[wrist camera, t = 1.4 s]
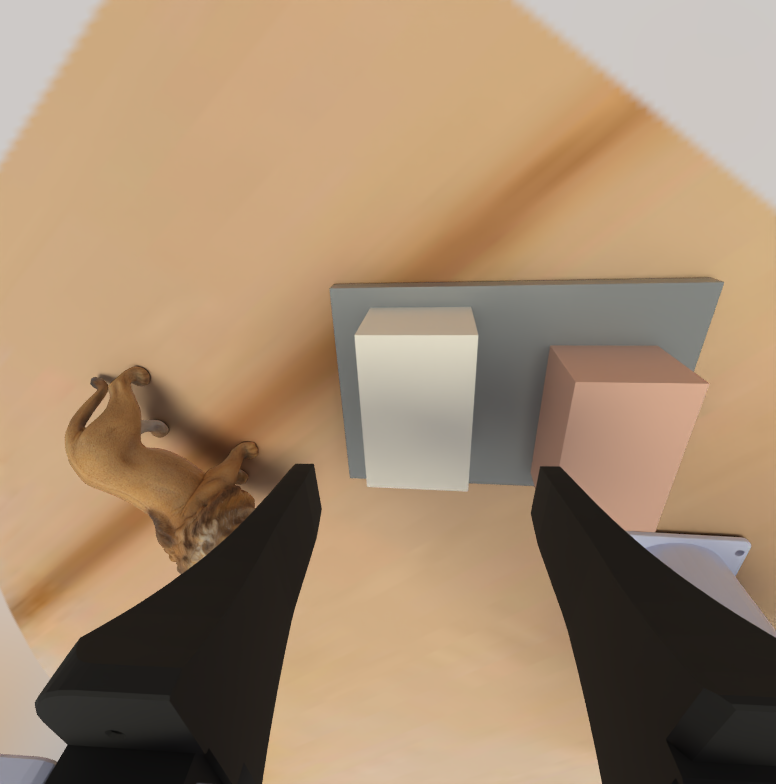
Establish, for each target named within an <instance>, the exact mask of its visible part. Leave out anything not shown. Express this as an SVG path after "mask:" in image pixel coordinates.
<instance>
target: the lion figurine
mask: <svg viewBox="0 0 776 784" xmlns="http://www.w3.org/2000/svg"><path fill="white" fill-rule="evenodd" d="M149 379H150V375H149V373H148V372H147V371H146V370H145V369H143V368H141V367H132V368H129V369H127V370H126V371H124V372H123V373H122V374H120V375H119V376H118V377H117V378H116V379H115V380H114V381H112V382H111V383H110V385H109V386H108V384H107V383H106V382H105V381H104V379H103V378H97V377H93V378H92V379H91V383H90V384H91V385H92V386H93V387H94V388H96V389H97V391H96V392H95V393H94V394H93V395H92V396H91V397H90V398H89V399H88V400H87V401H86V402H85V403H84V404H83V405H82V406H81V407H80V409H79V410H78V411H77V412H76V414H75V415H74V416H73V418H72V419H71V421H70V423H69V425H68V428H67V430H66V434H65V449H66V453H67V456H68V460H69V463H70V465H71V466H72V468H73V469H74V471H75V472H76V473H77V475H78V476H79V477H80V478H81V480H82V481H83V482H84V483H85V484H87V485H89V486H91V487H93V488H96V489H98V490H101V491H104V492H107V493H109V494H112V495H114V496H116V497H119V498H121V499H123V500H125V501H127V502H128V503H130V504H132V505H134V506H135V507H137V508H139V509H140V510H142V511H143V512H144V513H146V514H147V515H149V516H150V517H151V519H152V520H153V522H154V525H155V529H156V536H157V540H158V542H159V544H160V545H161V546H162V547H163V548H164V551H165V552H166V553H168V554H169V558H170V560H171V561H172V562H176V564H177V571H178V572H179V573H181V574H182V573H184V572H185V571H186V570H188V569H189V568H190V567H192V566H193V565H194V564H196V563H197V562H198V561H200V560H201V559H202V558H203V557H205V556H206V555H207V554H208V553H209V552H211V551H212V550H213V549H214V548H215V547H216V546H218V545H219V544H220V543H221V542H222V541H223V540H224V539H225V538H226V537H227V536H229V535H230V534H231V533H232V532H233V531H234V530H235V529H236V528H237V527H238V526H239V525H240V524H241V523H242V522H243V521H244V520H245V519H246V518H247V517H248V516H249V515H250V514H251V513H252V512H253V511H254V510H255V503H254V502H255V500H254V498H253V497H252V496H251V495H250V494H249V493H248V492H246V491H244V490H241V487H239V486H236V485H235V484H244V483H246V481H247V479H248V475H247V473H245V472H244V471H242V470H240V467H241V464H242V460H243V459H244V458H246V459H253V458H254V457H256V456H257V455H258V448H257V447H256V444H255V443H253V442H243V443H241V444H239V445H238V446H236V447H235V448H233V449H232V450H231V452H230V454H229V456H228V457H227V458H226V459H225V460H224V461H223V462H222V463H220V464H219V465H218V466H216V467H213V468H211V469H209V470H208V471H207V472H206V473H204V472H203V471H202V470H200V469H199V468H198V467H197V466H195V465H194V464H192V463H191V462H190V461H188V460H187V459H185V458H183V457H181V456H179V455H177V454H175V453H172V452H170V451H167V450H164V449H159V448H147V447H145V446H144V445H143V444H142V443H141V434H142V433H144V432H151V433H152V434H153V435H154V436H156V437H164V436H165V435H166V434H167V433H168V431H169V429H168V427H167V426H166V425H165V424H164V423H163V422H162V421H160V420H141V411H140V407H139V405H138V403H137V401H136V398H135V395H134V393H133V391H132V388H131V383H133V384H135V385H137V386H144V385H147V384H149V382H150V381H149ZM108 391H109V394H110V399H109V402H108V405H107V407H106V409H105V410H104V412H103V413H102V414H101V415H100V416H99V417H98V418H97V419H95V420H94V421H93V422H92V423H91V424H90V425H89V426H88V427H87V428H85V425H86V423H87V421H88V420H89V418H90V417H91V415H92V414H93V412H94V411H95V409H96V408H97V406H98V405H99V404H100V403H101V401H102V400H103V398H104V397H105V396H106V393H107V392H108Z"/></svg>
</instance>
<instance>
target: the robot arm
mask: <svg viewBox="0 0 776 784" xmlns="http://www.w3.org/2000/svg"><path fill="white" fill-rule="evenodd" d="M321 510H322V508H321V503H320V497H319V491H318V485H317V480H316V474H315V468H314V464H295V465H294V466H293V467H292V468H291V469H290V470H289V471H288V473H287V474H286V475H285V476H284V477H283V478H282V480H281V481H280V482H279V483H278V484H277V485H276V487H275V488H274V489H273V490H272V491H271V492H270V493H269V495H268V496H267V497H266V498H265V499H264V500H263V501H262V502H261V503H260V504H259V505H258V506H257V508H256V509H255V510H254V511H253V512H252V513H251V514H250V515H249V516H248V517H247V518H246V519H245V520H244V521H243V522H242V523H241V524H240V525H239V526H238V527H237V528H236V529H235V530H234V531H233V532H232V533H231V534H230V535H229V536H227V537H226V538H225V539H224V540H223V541H222V542H221V543H220V544H219V545H218V546H216V547H215V548H214V549H213V550H212V551H211V552H209V553H208V554H207V555H206V556H205V557H203V558H202V559H201V560H200V561H198V562H197V563H196V564H194V565H193V566H192V567H190V568H189V569H188V570H186V571H185V572H184V573H182V574H181V575H180V576H178V577H177V578H176V579H174V580H173V581H172V582H170V583H169V584H168V585H166V586H165V587H163V588H162V589H160V590H159V591H157V592H156V593H154V594H153V595H151V596H150V597H148V598H147V599H145V600H144V601H142V602H140V603H139V604H137V605H136V606H134V607H133V608H131V609H129V610H128V611H126V612H124V613H123V614H121V615H119V616H118V617H116V618H114V619H112V620H111V621H109V622H107V623H106V624H104V625H102V626H100V627H99V628H97V629H95V630H93V631H92V632H90V633H88V634H86V635H84V636H83V637H81V638H80V639H79V640H78V642H77V643H76V644H75V645H74V647H73V648H72V650H71V651H70V652H69V654H68V655H67V656H66V658H65V659H64V661H63V662H62V663H61V665H60V666H59V668H58V669H57V671H56V672H55V673H54V675H53V676H52V678H51V679H50V681H49V682H48V683H47V685H46V686H45V688H44V689H43V691H42V692H41V693H40V695H39V696H38V698H37V700H36V702H35V708H36V712H37V715H38V716H39V717H40V719H41V720H42V721H43V722H44V723H45V724H46V725H47V726H48V727H49V728H50V729H51V730H53V732H55V733H56V734H57V735H58V736H59V737H60V738H61V739H62V740H63V741H64V742H65V743H66V744H67V747H66V749H65V750H64V752H63V754H62V755H61V757H60V759H59V760H58V762H56V761H54V760H51V759H48V758H43V757H36V756H22V755H7V754H0V784H262V780H263V774H264V767H265V761H266V755H267V748H268V742H269V736H270V730H271V724H272V718H273V713H274V707H275V702H276V696H277V690H278V685H279V680H280V675H281V670H282V665H283V659H284V654H285V649H286V645H287V640H288V635H289V631H290V626H291V621H292V617H293V613H294V610H295V606H296V603H297V599H298V596H299V593H300V590H301V587H302V583H303V580H304V577H305V574H306V571H307V567H308V564H309V561H310V558H311V555H312V551H313V548H314V545H315V541H316V538H317V532H318V527H319V522H320V516H321ZM531 516H532V521H533V525H534V530H535V534H536V539H537V543H538V546H539V549H540V552H541V555H542V558H543V561H544V564H545V566H546V569H547V572H548V575H549V578H550V580H551V583H552V586H553V589H554V592H555V594H556V597H557V600H558V603H559V606H560V608H561V611H562V614H563V617H564V620H565V623H566V627H567V630H568V633H569V637H570V641H571V645H572V649H573V653H574V657H575V661H576V665H577V669H578V673H579V678H580V682H581V686H582V690H583V694H584V699H585V703H586V707H587V712H588V717H589V721H590V726H591V731H592V735H593V740H594V745H595V749H596V754H597V759H598V765H599V770H600V775H601V780H602V784H776V630H775V629H774V627H773V626H772V625H771V623H770V622H769V621H768V619H767V618H766V617H765V615H764V614H763V613H762V611H761V610H760V609H759V607H758V606H757V605H756V603H755V602H754V601H753V599H752V598H751V597H750V596H749V594H748V593H747V592H746V590H745V589H744V588H743V586H742V585H741V584H740V582H739V581H738V580H737V578H736V577H735V576H736V574H737V572H738V571H739V569H740V567H741V565H742V563H743V561H744V559H745V557H746V556H747V554H748V552H749V550H750V548H751V544H750V542H749V541H748V540H747V539H746V538H742V537H725V536H707V535H689V534H671V533H654V532H636V531H625V530H624V529H622V528H621V527H620V526H619V525H618V524H617V523H616V522H615V521H614V520H613V519H612V518H611V517H610V516H609V515H608V514H607V513H606V512H604V511H603V510H602V509H601V508H600V507H599V506H598V505H597V504H596V503H595V502H594V501H593V500H592V499H591V498H590V497H589V496H588V495H587V494H586V493H585V491H584V490H583V489H582V488H581V487H580V486H579V485H578V484H577V483H576V482H575V481H574V480H573V479H572V478H571V477H570V476H569V475H568V474H567V473H566V472H565V471H564V470H563V469H562V468H561V467H560V466H540V469H539V474H538V480H537V485H536V490H535V495H534V500H533V505H532V510H531Z"/></svg>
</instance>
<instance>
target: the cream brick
mask: <svg viewBox="0 0 776 784" xmlns="http://www.w3.org/2000/svg"><path fill="white" fill-rule="evenodd" d="M354 336H355V348H356V360H357V372H358V384H359V396H360V408H361V420H362V432H363V444H364V456H365V468H366V479H367V487H382V488H403V489H425V490H446V491H468V484H469V469H470V454H471V439H472V424H473V409H474V394H475V379H476V364H477V349H478V332H477V328H476V324H475V320H474V316H473V312H472V309H471V307H397V308H370V309H369V311H368V313H367V314H366V316H365V318H364V320H363V321H362V323H361V325H360V326H359V328H358V330H357V332H356V333H355V335H354Z"/></svg>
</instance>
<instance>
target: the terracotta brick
mask: <svg viewBox="0 0 776 784" xmlns="http://www.w3.org/2000/svg"><path fill="white" fill-rule="evenodd" d="M708 387H709V383H708V382H707V381H705V380H704V379H703V378H701V377H700V376H698V375H697V374H696V373H694V372H693V371H692V370H690V369H689V368H687V367H686V366H685V365H683V364H682V363H681V362H679V361H678V360H677V359H675V358H674V357H672V356H671V355H670V354H668V353H667V352H666V351H664V350H663V349H661V348H660V347H659V346H571V345H550V350H549V356H548V363H547V369H546V376H545V382H544V389H543V395H542V401H541V408H540V414H539V421H538V427H537V434H536V440H535V447H534V453H533V459H532V466H531V472H530V473H531V476H532V479H533V482H534V485H535V489H536V485H537V480H538V474H539V469H540V466H560V467H561V468H562V469H563V470H564V471H565V472H566V473H567V474H568V475H569V476H570V477H571V478H572V479H573V480H574V481H575V482H576V483H577V484H578V485H579V486H580V487H581V488H582V489H583V490H584V491H585V493H586V494H587V495H588V496H589V497H590V498H591V499H592V500H593V501H594V502H595V503H596V504H597V505H598V506H599V507H600V508H601V509H602V510H603V511H604V512H606V513H607V514H608V515H609V516H610V517H611V518H612V519H613V520H614V521H615V522H616V523H617V524H618V525H619V526H620V527H621V528H622V529H624V530H625V531H642V532H655V531H656V528H657V526H658V523H659V520H660V518H661V515H662V512H663V509H664V507H665V504H666V501H667V499H668V496H669V493H670V490H671V488H672V485H673V482H674V479H675V477H676V474H677V471H678V469H679V466H680V463H681V460H682V458H683V455H684V452H685V450H686V447H687V444H688V441H689V439H690V436H691V433H692V431H693V428H694V425H695V422H696V420H697V417H698V414H699V412H700V409H701V406H702V403H703V401H704V398H705V395H706V393H707V390H708Z"/></svg>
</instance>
